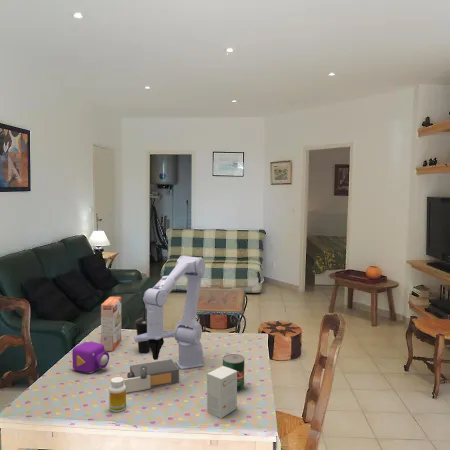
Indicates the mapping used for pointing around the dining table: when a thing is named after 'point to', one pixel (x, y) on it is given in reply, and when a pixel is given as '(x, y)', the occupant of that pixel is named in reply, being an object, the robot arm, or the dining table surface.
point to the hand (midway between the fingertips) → (155, 358)
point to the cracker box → (111, 323)
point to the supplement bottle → (117, 395)
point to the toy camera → (89, 357)
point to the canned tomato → (236, 368)
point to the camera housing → (157, 372)
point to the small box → (221, 391)
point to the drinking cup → (141, 329)
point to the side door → (138, 381)
